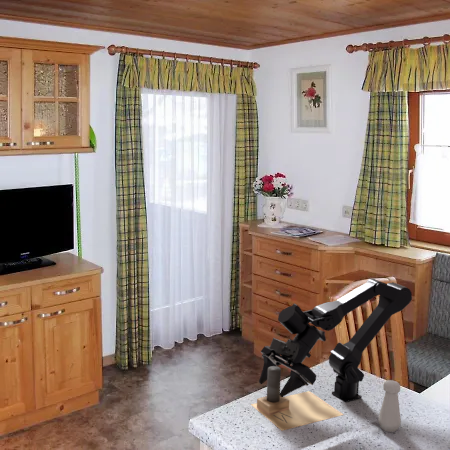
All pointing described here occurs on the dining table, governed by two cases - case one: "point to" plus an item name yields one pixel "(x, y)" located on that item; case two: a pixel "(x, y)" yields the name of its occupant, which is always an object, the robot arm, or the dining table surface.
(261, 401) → the rubber stamp
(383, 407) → the salt shaker
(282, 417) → the pine board
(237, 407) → the dining table surface
